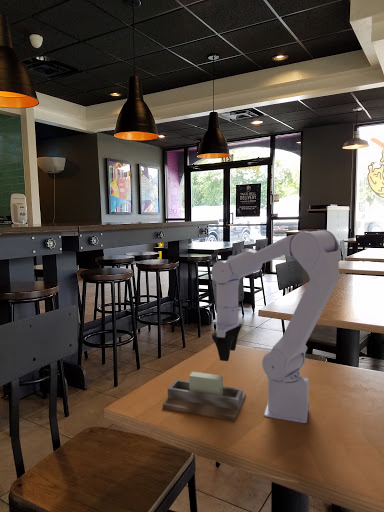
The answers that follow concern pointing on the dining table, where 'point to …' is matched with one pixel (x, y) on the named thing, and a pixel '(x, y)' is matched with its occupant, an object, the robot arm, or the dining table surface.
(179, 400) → the grey metal tray
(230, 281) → the robot arm
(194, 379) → the panel
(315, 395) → the dining table surface
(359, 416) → the dining table surface
